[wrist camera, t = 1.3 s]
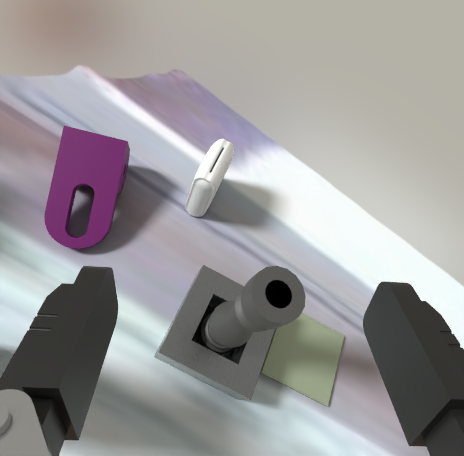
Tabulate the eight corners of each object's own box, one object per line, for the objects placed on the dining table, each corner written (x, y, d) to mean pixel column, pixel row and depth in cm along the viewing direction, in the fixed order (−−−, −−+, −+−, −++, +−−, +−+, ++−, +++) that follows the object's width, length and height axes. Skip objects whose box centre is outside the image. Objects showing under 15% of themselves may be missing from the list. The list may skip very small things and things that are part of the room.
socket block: (237, 399, 51) (250, 399, 46) (154, 356, 50) (158, 352, 45) (268, 315, 58) (282, 307, 53) (195, 276, 57) (203, 264, 52)
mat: (325, 406, 55) (327, 406, 54) (260, 372, 54) (261, 372, 53) (342, 336, 61) (344, 335, 60) (283, 304, 60) (285, 304, 59)
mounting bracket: (110, 249, 61) (131, 152, 62) (103, 253, 53) (127, 141, 54) (54, 239, 59) (76, 139, 60) (38, 242, 51) (64, 125, 52)
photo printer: (202, 171, 67) (218, 128, 57) (222, 181, 68) (241, 140, 57) (180, 211, 62) (193, 172, 51) (201, 221, 62) (218, 185, 52)
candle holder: (195, 354, 52) (249, 325, 31) (196, 313, 55) (247, 260, 33) (234, 355, 54) (311, 328, 32) (233, 315, 57) (304, 266, 35)
